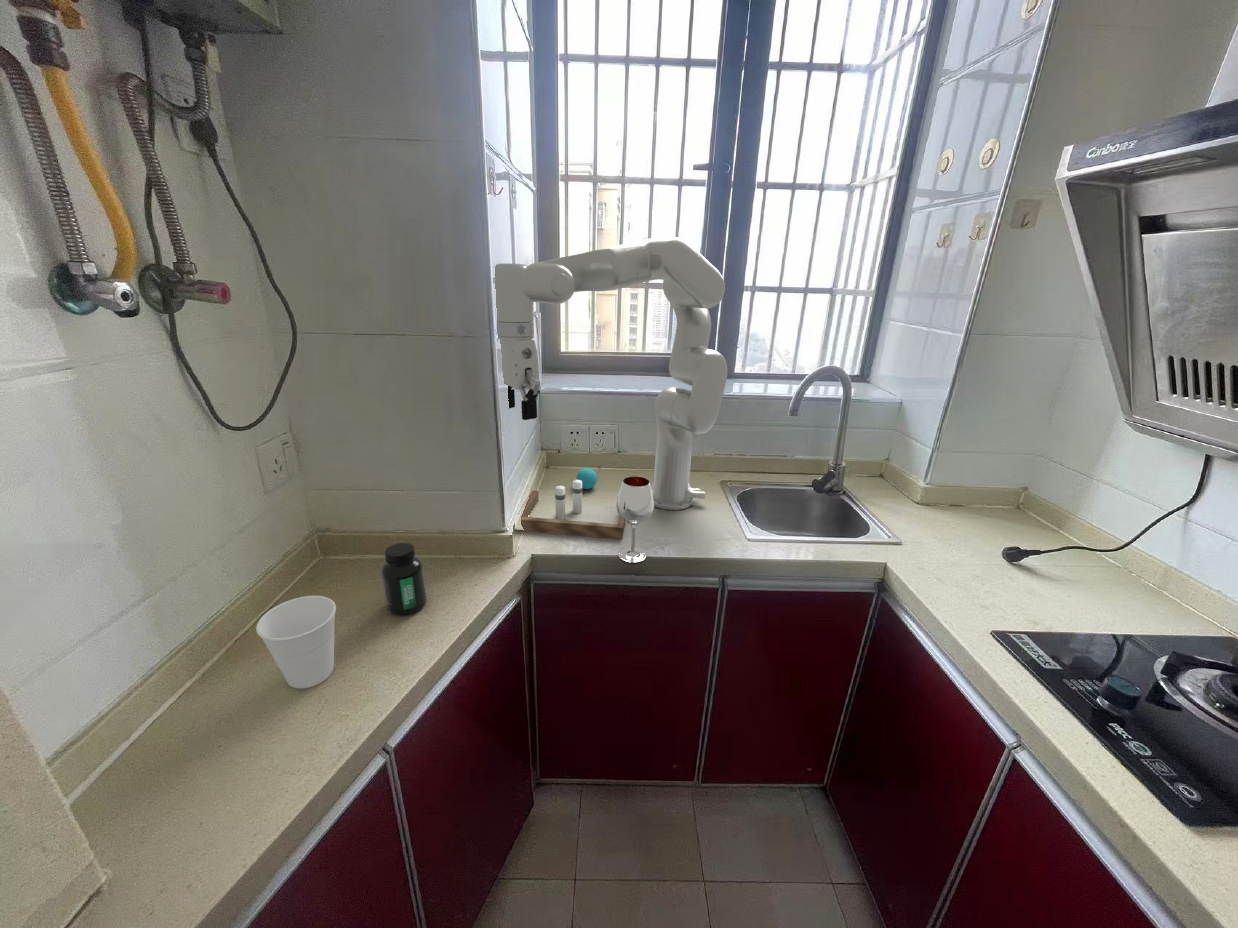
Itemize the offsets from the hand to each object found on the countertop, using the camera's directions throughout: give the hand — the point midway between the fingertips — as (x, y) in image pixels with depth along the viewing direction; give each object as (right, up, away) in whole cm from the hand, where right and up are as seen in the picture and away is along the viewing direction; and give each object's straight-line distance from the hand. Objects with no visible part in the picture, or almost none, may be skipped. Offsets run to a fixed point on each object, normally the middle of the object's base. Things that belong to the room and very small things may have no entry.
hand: (518, 413), depth 106 cm
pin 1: (+6, -25, +21) cm, 33 cm away
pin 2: (+10, -23, +25) cm, 35 cm away
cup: (-26, -43, -29) cm, 58 cm away
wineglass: (+24, -31, +6) cm, 40 cm away
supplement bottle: (-18, -37, -13) cm, 43 cm away
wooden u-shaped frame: (+10, -24, +22) cm, 34 cm away
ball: (+12, -15, +38) cm, 42 cm away
